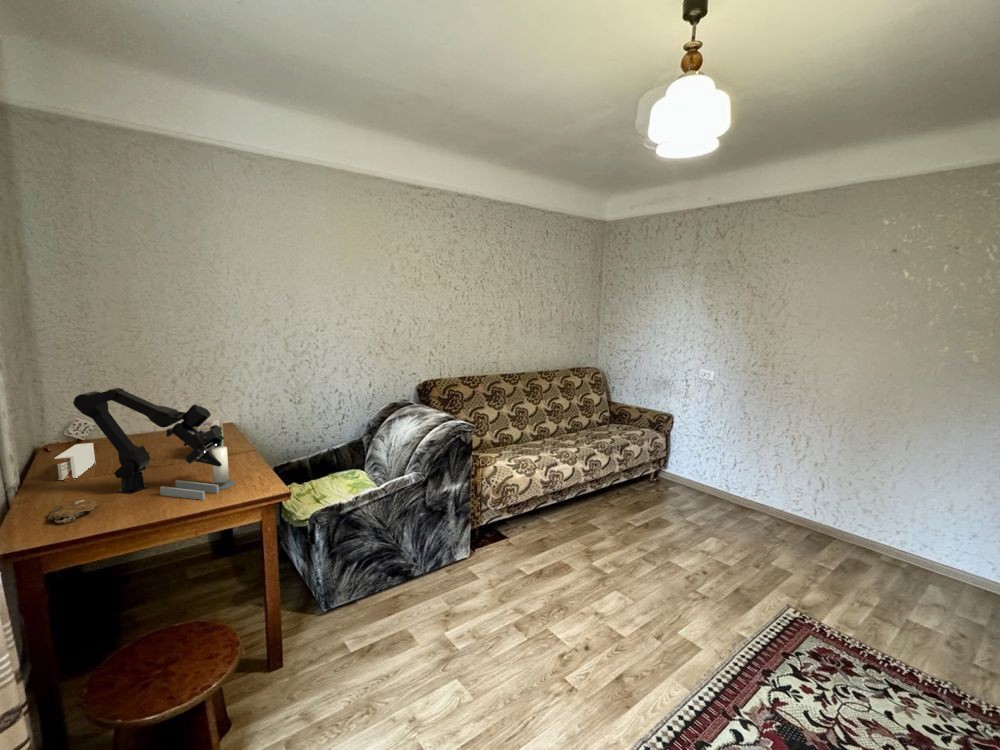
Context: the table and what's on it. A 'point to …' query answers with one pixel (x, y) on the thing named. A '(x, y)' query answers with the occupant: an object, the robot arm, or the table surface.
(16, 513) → the table surface
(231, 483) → the coaster
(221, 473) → the white rounded block
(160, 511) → the table surface
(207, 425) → the tea box
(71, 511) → the decorative rock
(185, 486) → the grey parallel rails
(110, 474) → the table surface
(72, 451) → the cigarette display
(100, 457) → the table surface
